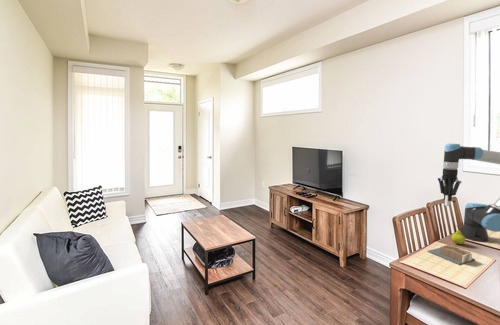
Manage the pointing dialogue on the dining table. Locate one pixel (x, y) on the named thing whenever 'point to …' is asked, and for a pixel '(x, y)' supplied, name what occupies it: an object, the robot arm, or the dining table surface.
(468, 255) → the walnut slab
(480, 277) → the dining table surface
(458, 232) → the fruit
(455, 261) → the felt pad
